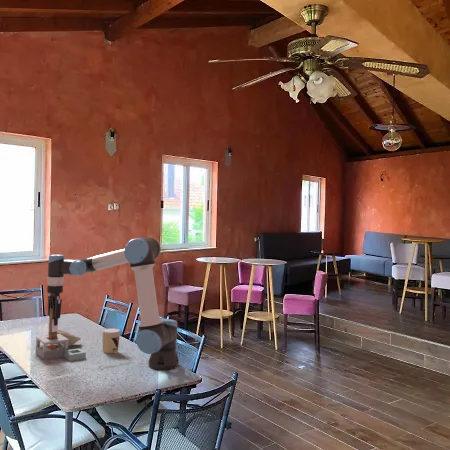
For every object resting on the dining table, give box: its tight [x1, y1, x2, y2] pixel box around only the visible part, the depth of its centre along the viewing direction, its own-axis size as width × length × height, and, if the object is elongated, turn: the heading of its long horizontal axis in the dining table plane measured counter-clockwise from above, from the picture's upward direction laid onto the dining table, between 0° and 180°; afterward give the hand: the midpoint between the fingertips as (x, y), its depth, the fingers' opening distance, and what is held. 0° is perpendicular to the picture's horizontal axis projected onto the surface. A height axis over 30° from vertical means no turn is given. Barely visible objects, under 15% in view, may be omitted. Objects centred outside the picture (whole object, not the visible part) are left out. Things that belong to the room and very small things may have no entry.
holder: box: [63, 347, 87, 362], centre depth 218 cm, size 8×8×4 cm
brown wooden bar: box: [48, 308, 57, 345], centre depth 220 cm, size 3×3×18 cm
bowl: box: [57, 329, 81, 347], centre depth 238 cm, size 15×14×10 cm
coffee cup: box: [102, 327, 121, 355], centre depth 232 cm, size 9×9×12 cm
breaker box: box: [35, 334, 69, 361], centre depth 220 cm, size 12×12×10 cm
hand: (53, 330), depth 220 cm, fingers closed on brown wooden bar, 3 cm apart
